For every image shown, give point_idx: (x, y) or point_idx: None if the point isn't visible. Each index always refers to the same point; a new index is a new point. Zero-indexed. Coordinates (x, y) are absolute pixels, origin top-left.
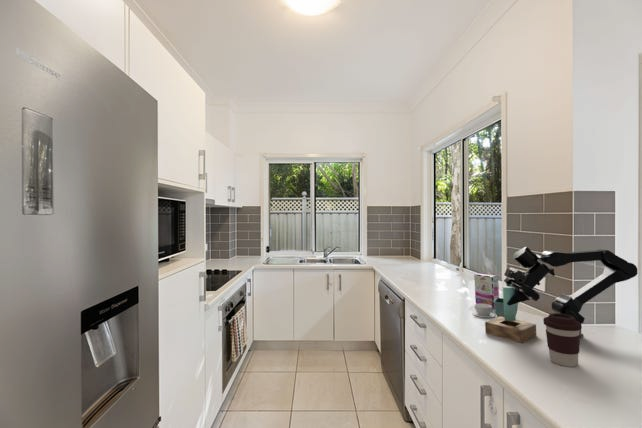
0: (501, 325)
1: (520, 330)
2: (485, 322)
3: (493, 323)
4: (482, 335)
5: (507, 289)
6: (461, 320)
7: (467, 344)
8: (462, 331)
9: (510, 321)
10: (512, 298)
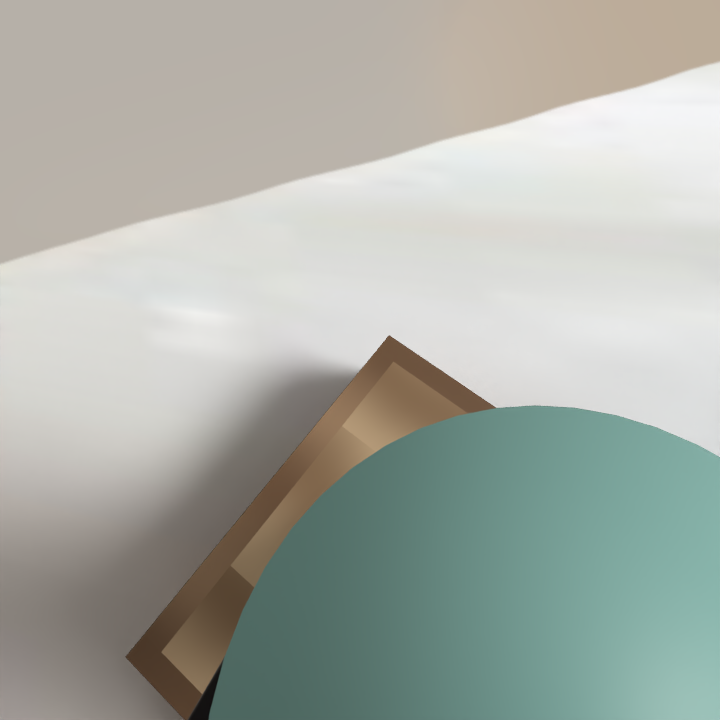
0: (299, 472)
1: (153, 648)
2: (387, 340)
3: (353, 404)
4: (319, 343)
5: (266, 607)
6: (656, 235)
7: (127, 232)
8: (378, 223)
9: None
10: (196, 704)
